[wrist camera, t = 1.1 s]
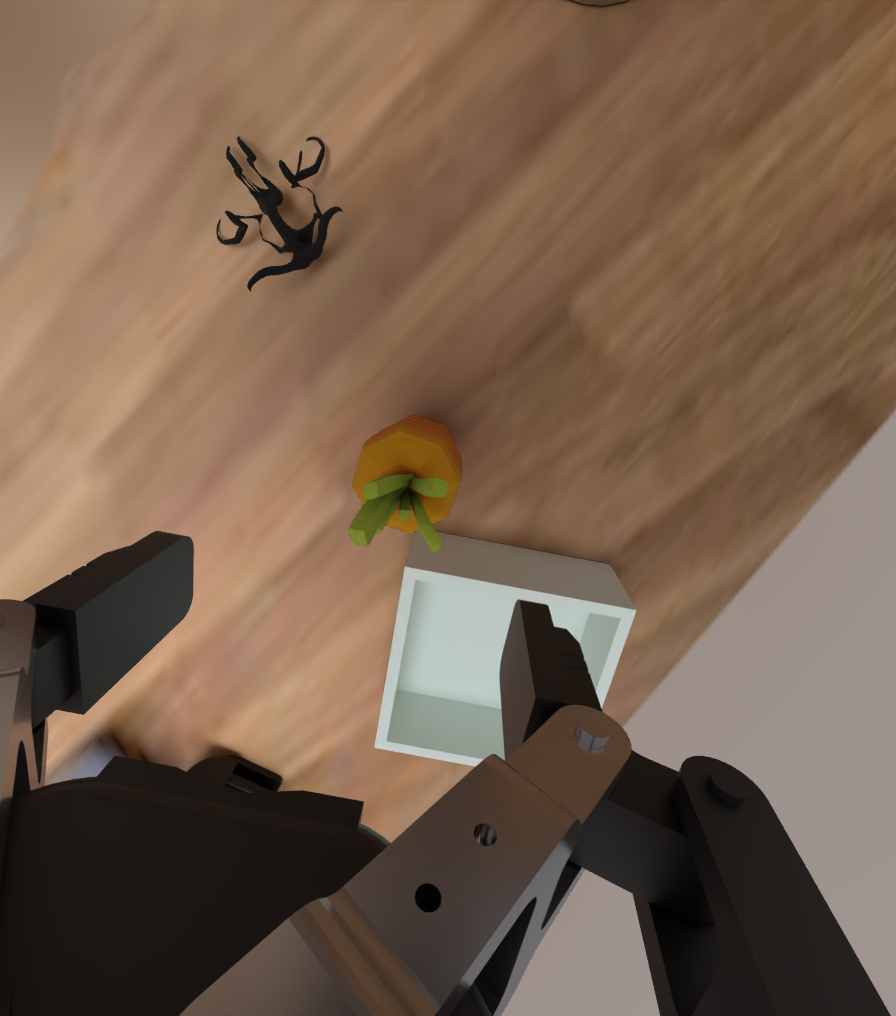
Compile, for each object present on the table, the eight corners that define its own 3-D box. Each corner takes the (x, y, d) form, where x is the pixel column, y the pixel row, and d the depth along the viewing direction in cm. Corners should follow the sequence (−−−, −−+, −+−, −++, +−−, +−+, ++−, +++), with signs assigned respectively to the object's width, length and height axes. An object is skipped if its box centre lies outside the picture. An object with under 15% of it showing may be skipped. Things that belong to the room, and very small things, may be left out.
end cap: (209, 736, 41) (160, 810, 35) (287, 772, 42) (253, 851, 36) (170, 811, 44) (118, 892, 38) (243, 844, 45) (205, 928, 39)
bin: (416, 527, 34) (404, 566, 28) (609, 564, 34) (636, 610, 28) (389, 686, 38) (374, 747, 33) (560, 718, 38) (574, 784, 33)
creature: (202, 205, 29) (278, 319, 29) (129, 155, 24) (221, 295, 24) (302, 110, 27) (382, 232, 28) (247, 34, 22) (345, 186, 22)
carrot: (465, 395, 31) (454, 446, 17) (468, 472, 32) (461, 580, 18) (385, 399, 31) (309, 452, 17) (392, 475, 33) (328, 582, 19)
